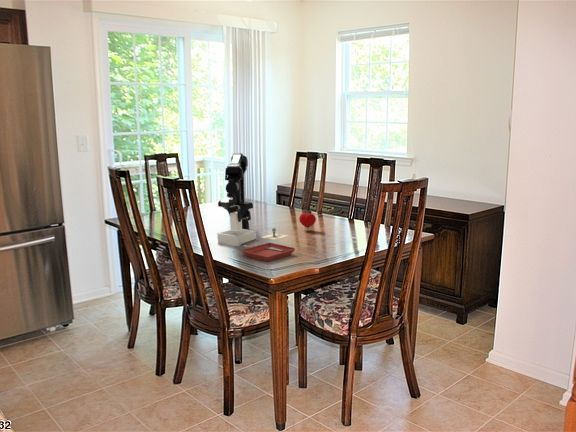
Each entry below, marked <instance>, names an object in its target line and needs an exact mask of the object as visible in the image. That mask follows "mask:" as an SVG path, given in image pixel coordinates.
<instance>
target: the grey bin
mask: <svg viewBox="0 0 576 432" xmlns="http://www.w3.org/2000/svg"><path fill="white" fill-rule="evenodd" d="M216 234H217V235H216V236H217V244H221V245H228V246H232V247H240V246H241V247H242V246H244V243H247V242H250V241H253V240H256V239H257V231H256V230H253V229H251V230H247V229H242V230H240V231H237V232H236V231H231V228H229V229H227V230H224V231H220V232H218V233H216Z"/></svg>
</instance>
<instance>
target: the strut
mask: <svg viewBox="0 0 576 432" xmlns="http://www.w3.org/2000/svg"><path fill="white" fill-rule="evenodd" d="M229 222H230V223H229V224H230V229H231V231H236V232H237V231H240V230H242V219H241V222H238V212H232V213H230V215H229Z"/></svg>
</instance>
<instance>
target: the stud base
mask: <svg viewBox="0 0 576 432" xmlns="http://www.w3.org/2000/svg"><path fill="white" fill-rule="evenodd" d="M271 230H272V231H271V232H272V233H269V234H266V235H263V236H261V237H260V238H262V239H269V240H274V241H277V240H280V239H282V238H286V237H287V236H289V235H288V234H287V235H286V234H280V233H276V231H277V229H276V228H275V227H273V228H272V229H271Z"/></svg>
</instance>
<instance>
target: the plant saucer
mask: <svg viewBox="0 0 576 432" xmlns="http://www.w3.org/2000/svg"><path fill="white" fill-rule="evenodd" d="M272 248H274V249H272ZM295 250H296V248H295V247H292V246H288V245H282V244H278V243H273V242H266V243H263V244H259V245H254V246H251V247H249V248H245V249H241V252H242V253H243V255H245V256H247V257H250V258H253V259H256V260H260V261H265V262H271V261H274V260H278V259H282V258H284V257H288V256H291V255H292V254H293V253H294V252H295Z"/></svg>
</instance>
